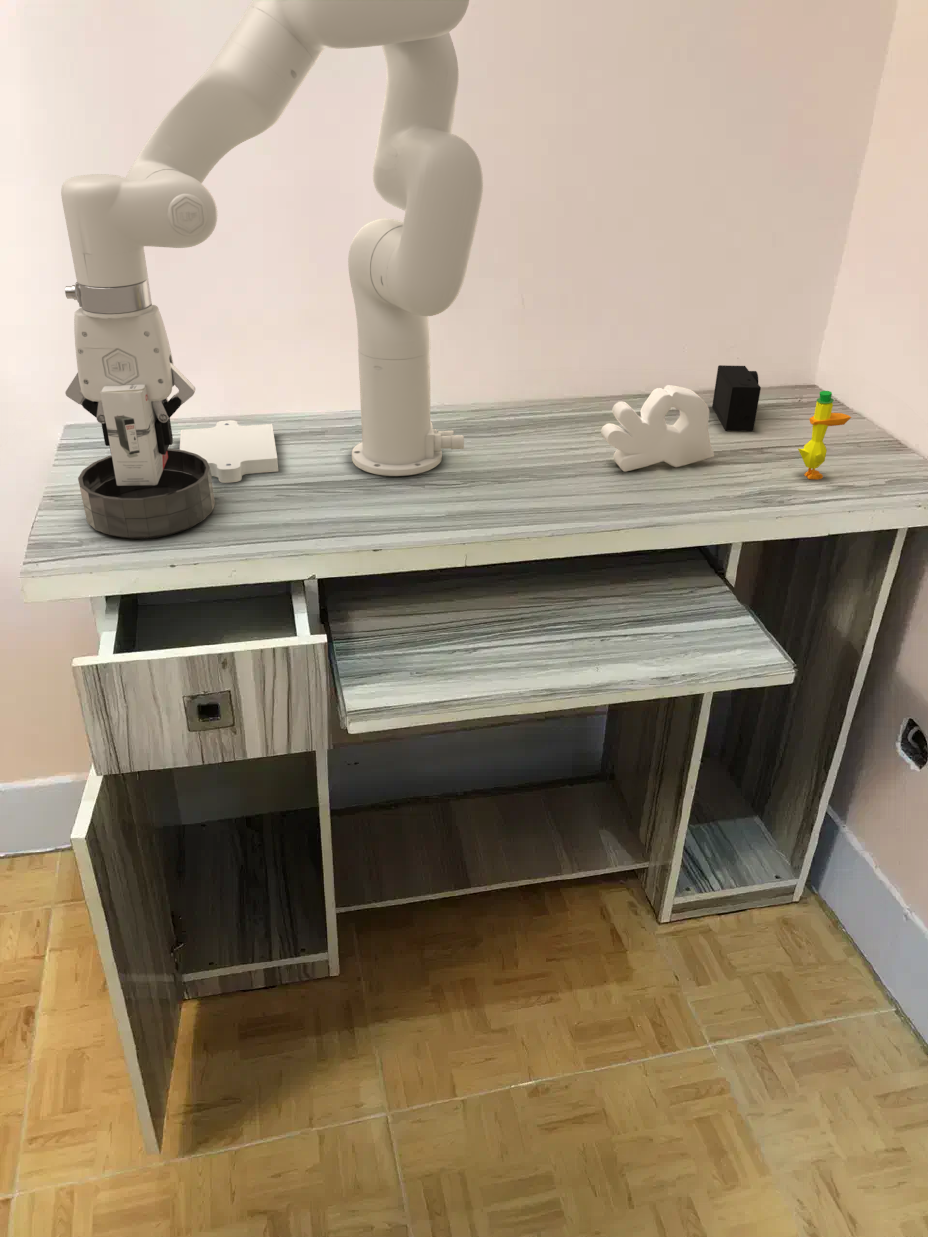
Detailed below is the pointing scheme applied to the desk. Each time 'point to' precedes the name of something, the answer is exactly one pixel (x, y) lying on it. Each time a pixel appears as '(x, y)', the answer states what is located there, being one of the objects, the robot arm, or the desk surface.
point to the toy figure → (820, 434)
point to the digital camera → (736, 397)
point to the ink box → (132, 435)
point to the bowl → (148, 498)
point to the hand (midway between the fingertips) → (140, 449)
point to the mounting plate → (233, 449)
